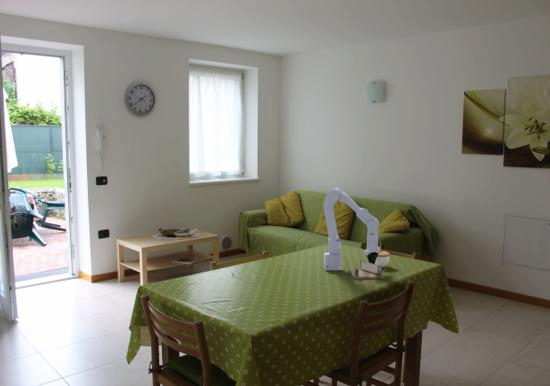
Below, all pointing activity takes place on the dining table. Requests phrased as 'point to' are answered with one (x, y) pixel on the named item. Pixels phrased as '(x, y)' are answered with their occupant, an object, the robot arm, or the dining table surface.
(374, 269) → the white bar
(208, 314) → the dining table surface
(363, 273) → the board
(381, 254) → the lidded jar
